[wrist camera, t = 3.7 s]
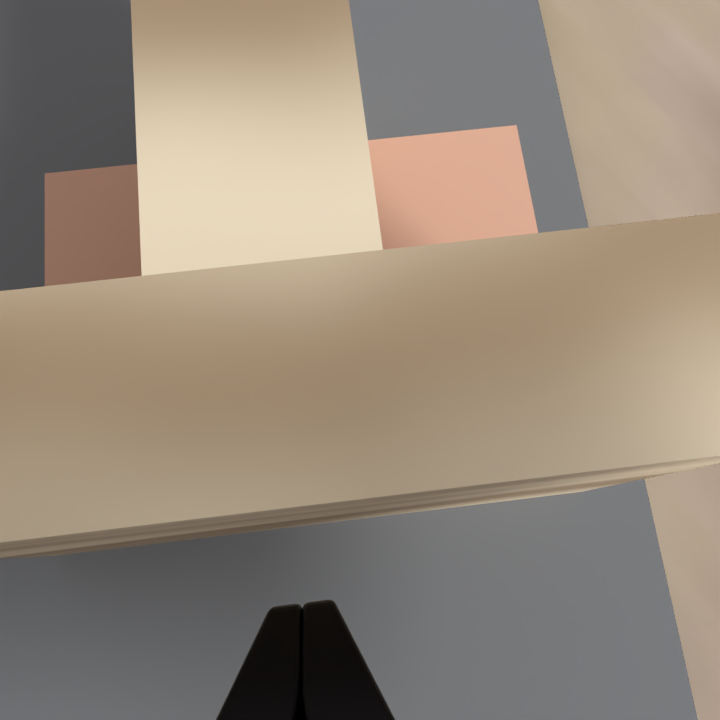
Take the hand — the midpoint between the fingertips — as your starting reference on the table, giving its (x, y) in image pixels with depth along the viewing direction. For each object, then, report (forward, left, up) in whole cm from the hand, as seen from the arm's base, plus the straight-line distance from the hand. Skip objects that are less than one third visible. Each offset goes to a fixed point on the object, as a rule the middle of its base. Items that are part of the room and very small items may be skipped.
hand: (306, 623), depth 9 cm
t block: (+3, +6, -6) cm, 9 cm away
